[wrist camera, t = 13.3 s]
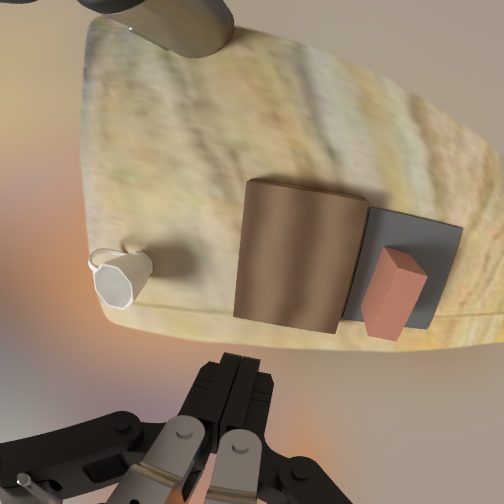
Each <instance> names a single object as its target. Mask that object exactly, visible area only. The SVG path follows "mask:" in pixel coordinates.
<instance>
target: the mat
mask: <svg viewBox="0 0 504 504" xmlns="http://www.w3.org/2000/svg"><path fill="white" fill-rule="evenodd" d="M461 232H462V228H459V227H455V226H451V225H448V224H444V223H440V222H436V221H432V220H427V219H423V218H419V217H415V216H410V215H406V214H402V213H397V212H392V211H388V210H383V209H378V208H373V207H370V210H369V215H368V220H367V224H366V229H365V233H364V238H363V242H362V246H361V251H360V255H359V259H358V263H357V267H356V271H355V274H354V278H353V282H352V286H351V289H350V293H349V296H348V300H347V303H346V307H345V310H344V313H343V317H342V319H347V320H354V321H362V322H364V318H363V314H362V310H361V307H360V305H361V303H362V301H363V298H364V296H365V293H366V291H367V288H368V286H369V283H370V281H371V278H372V276H373V273H374V271H375V268H376V265H377V263H378V260H379V257H380V254H381V252H382V249H383V246H385V247H388V248H391V249H395V250H398V251H401V252H405V253H408V254H410V255H411V256H412V257H413V259H414V260H415V261H416V262H417V264H418V265H419V266H420V267H421V269H422V270H423V271H424V272H425V274H426V275H427V276H428V277H427V279H426V282H425V284H424V286H423V288H422V291H421V293H420V295H419V297H418V299H417V301H416V304H415V306H414V308H413V310H412V312H411V314H410V316H409V318H408V320H407V322H406V324H405V326H404V327H409V328H418V329H427V328H428V326H429V323H430V321H431V319H432V316H433V314H434V312H435V309H436V307H437V304H438V302H439V299H440V296H441V294H442V291H443V289H444V286H445V283H446V280H447V277H448V275H449V272H450V269H451V266H452V263H453V259H454V256H455V253H456V250H457V246H458V243H459V239H460V236H461Z"/></svg>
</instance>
